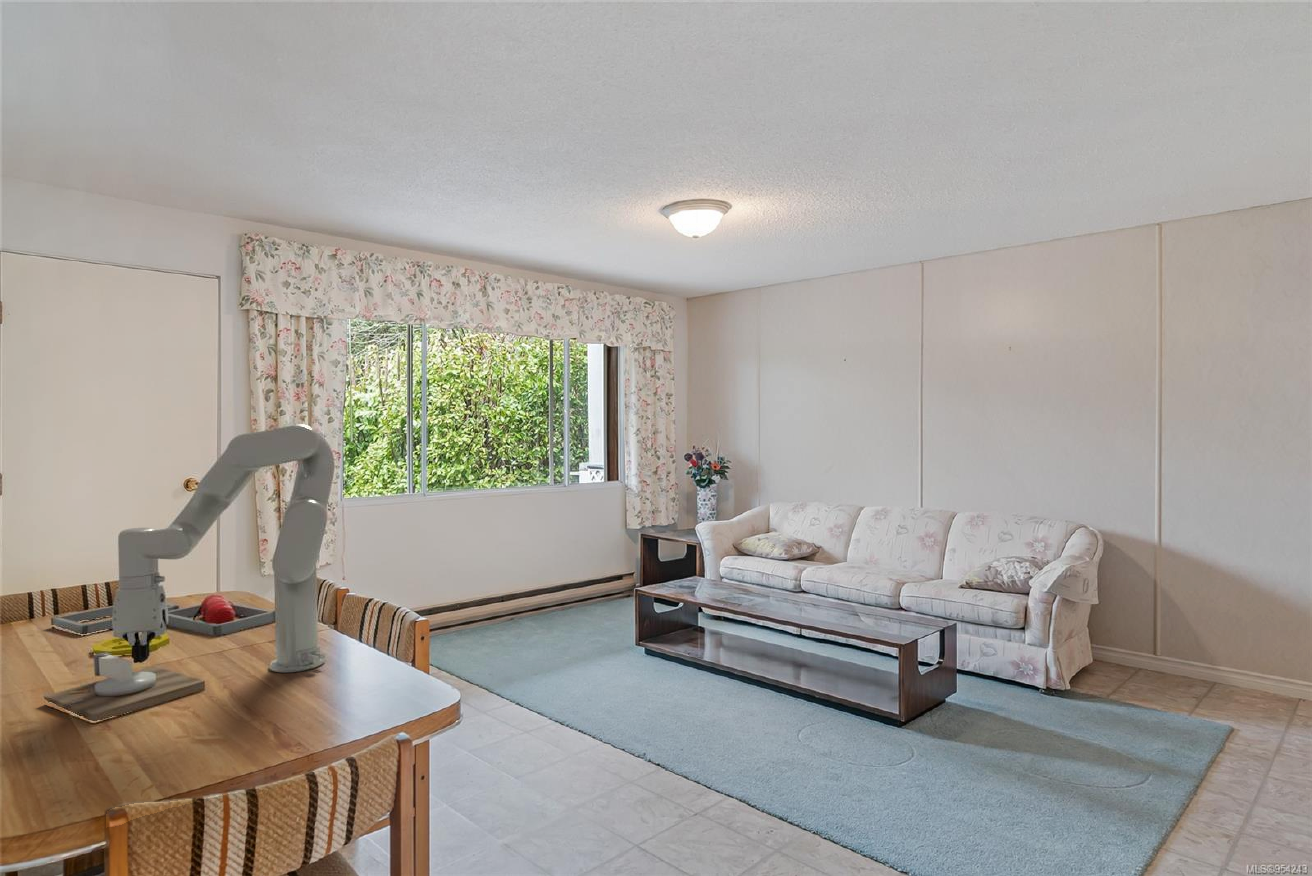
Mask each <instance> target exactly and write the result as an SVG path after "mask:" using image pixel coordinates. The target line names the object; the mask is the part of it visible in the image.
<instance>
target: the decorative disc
mask: <svg viewBox="0 0 1312 876" xmlns="http://www.w3.org/2000/svg"><path fill="white" fill-rule="evenodd" d="M139 634H140V639H141V634H142V632H140V633H139ZM167 644H168V645H170V636H169V635H168V633H167V632H166V633H165V634H163V635H160V636H156V637H154V638H153V639H152V640H151V642H149V652H153V651H152V650H154V651H157V650H156V649H158V650H160V649H161V648H160V647H162V648H163V646H164V647H165V645H166V646H167ZM103 647H108V648H107V649H104V648H103ZM110 647H111V648H110ZM159 648H160V649H159ZM92 651H94V653H95V654H100V653H110V655H125V654H132V646H130V645H129V643H128V642H127V641H126V640H125V639H124V638H118V637H112V638H108V639H105V640H102V641H101V642H98V643H95V644H93V645H92ZM94 653H93V654H94Z"/></svg>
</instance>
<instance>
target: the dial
mask: <svg viewBox="0 0 1312 876" xmlns="http://www.w3.org/2000/svg"><path fill="white" fill-rule="evenodd" d="M93 667H94V676H95V677H96V676H97V677H100V676H101V677H105V679H102V680H98V681H99V682H98V683H96V685H95V694H96V695H98V696H120V695H126V694H131V693H135V692H139V691H142V690H145V689H148V688H150V687H152V686H153V685H155V683H156V674H155V673H152V672H134V671H133V661H132V660H130V659H127V658H126V659H125V658H123V657H116V656H112V655H110V653H100V654H96V655H94V654H93ZM132 672H134V673H132Z"/></svg>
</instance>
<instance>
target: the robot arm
mask: <svg viewBox="0 0 1312 876" xmlns="http://www.w3.org/2000/svg"><path fill="white" fill-rule="evenodd" d="M290 462H291V463H292V462H296V463H297V471H296V473H295V479H294V485H293V487H292V492H291V496H290V500H289V502H288V504H287V506H286V508H285V510H284V514H283V517H282V522H281V526H280V531H279V534H278V538H277V542H276V546H275V550H274V553H273V555H272V561H271V569H272V571H273V574H274V575H273V578H274V581H273V582H274V589H273V590H274V611H275V622H274V626H275V656H276V657H275V659H274V660H271V661H270V663H269V665H268V666H269V670H270V671H272V672H275V673H276V672H277V673H295V672H296V673H297V672H303V671H307V670H310V669H311V670H312V669H314V668H318V667H319V666H321V665H323V664H324V663H325V662H326V655H325V653H321V646H320V645H319V626H318V625H319V624H318V621H319V620H318V587H317V586H318V583H317V581H318V579H317V563H318V560H319V556H320V550H321V547H322V544H323V541H324V536H325V530H326V527H327V523H328V512H327V509H328V508H327V507H328V504H329V503H328V502H329V499H330V494H331V489H332V484H333V480H334V476H335V475H334V474H335V458H334V453H333V450H332V448H331V445H330V444H329V442H328V441H327V440H326V438H324V437H323V435H321V434H320V433H319V432H318V431H317V430H316V429H314V428H313V427H312V426H311V425H308V424H304V423H299V424H298V423H296V424H293V425H292V424H291V425H287V426H282V427H277V428H271V429H267V430H261V431H255V432H250V433H241V434H238V435H237V436H234V438H233V437H232V439H231V440H230V441H229V442H228V445H227V447H226V449H225V450H224V451H223V452H222V454H221V455H220V456H219V457H218V459H217V460H216V461H215V462H214V464H213V466H212V467H211V468H210V469H209V470H208V471H207V472H206V474H205V475H204V476H203V477H202V478H201V480H200V481H199V482H198V484H197V486H196V488H195V491H194V493H193V495H192V497H191V498H190V499H189V501H188V502H187V504H186V505H185V506H184V508H183V509H182V510H181V512H180V513H178V515H177V517H175V519H174V520H173V521H172V523H170V525H169V526H168V527H166V528H163V529H155V528H152V527H134V528H127V529H123V530H122V531H120V532H119V534H118V536H117V540H118V541H117V545H118V547H117V548H118V549H117V551H118V552H117V553H118V589H116V591H115V594H114V600H113V604H112V606H113V614H112V618H111V619H112V626H113V630H112V631H113V635H112V636H113V638H116V637H118V638H124V639H125V640H126V641H127V642H128V643H129V645H130V646H132V655H131V658H132V659H133V664H137V663H142V664H143V663H144V662H145V661H147V660H148V658H149V657H150V652H151V651H149V642H151V640H152V639H153V638H154V637H156V636H160V635H163V634H165V633H166V634H167V633H168V630H167V627H166V626H168V625H167V624H168V608H167V603H168V602H167V601H168V600H167V597H166V592H165V588H164V586H163V584H160V583H164V582H165V581H166V577H165V575H160V572H159V560H179V559H183V558H185V557H187V556H188V555H189V554H190V553H191V552H192V551H193V550H194V549H195V547H197V545H198V544H199V543H200V542H201V540H202V539H203V538H204V537H205V535H206V534H207V532H208V531H209V530H210V529H211V527H212V526H213V524H215V523H216V521H217V520H218V519H219V518H220V516H221V515H222V514H223V513H224V511H226V510H227V509H228V508H229V507H230V506H231V505H232V504H233V502H234V501H235V500H236V499H237V497H238V496H239V495H240V494H241V492H242V491H243V490H244V488H246V486H247V485H248V484H249V483H250V481H251V480H252V479H253V477H254V476H255V474H257V472H258V470H260V469H262V468H267V467H273V466H277V465H281V464H285V463H287V464H288V463H290ZM141 633H142V634H141ZM140 634H141V639H140Z"/></svg>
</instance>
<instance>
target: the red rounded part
mask: <svg viewBox="0 0 1312 876" xmlns="http://www.w3.org/2000/svg"><path fill="white" fill-rule="evenodd" d="M229 603H231V604H232V606H231V605H230V604H229ZM233 603H234V602H232V601H228V598H227V597H226V596H223V595H222V594H221V595H220V594H214V593H213V594H211V595H208V596H206V597H205V598H204V600H203V601H202V602H201V607H200V608H199V609H198V610H197V613H196V614H195V616H193V618H192V619H196V620H199V619H198V618H199V617H200V615H198V613H199V614H202V619H204V621H205V622H210V623H214V624H222V623H226V622H230V621H234V620H235V616H236V615H235V612H234V608H235V607H233Z"/></svg>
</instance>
